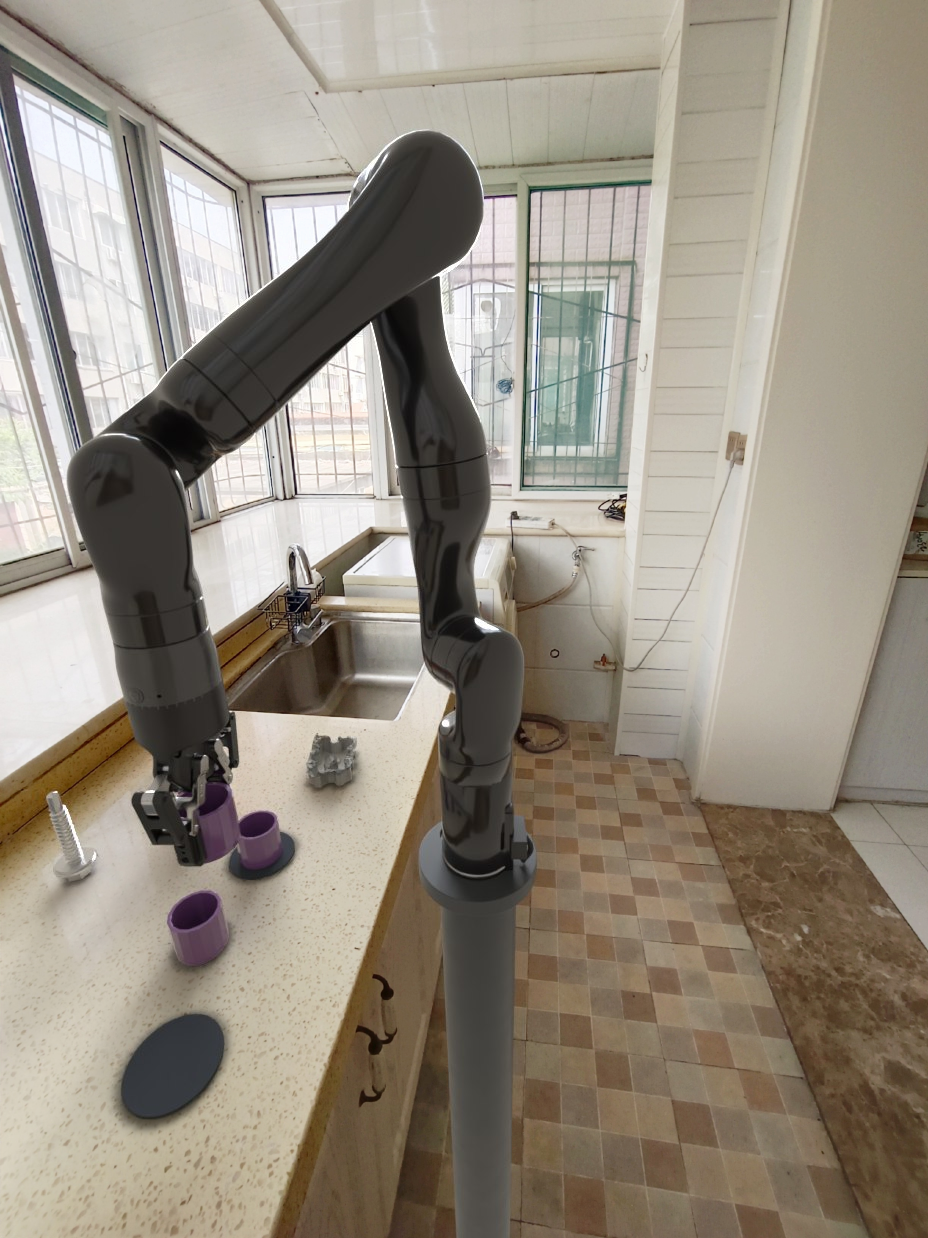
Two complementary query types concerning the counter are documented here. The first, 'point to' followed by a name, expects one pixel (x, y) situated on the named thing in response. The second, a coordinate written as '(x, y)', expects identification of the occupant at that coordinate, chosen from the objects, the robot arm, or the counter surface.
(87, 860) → the screw
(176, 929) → the purple hollow cylinder
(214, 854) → the purple plastic cylinder
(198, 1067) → the coaster left
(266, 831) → the purple plastic cup
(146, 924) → the counter surface
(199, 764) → the robot arm
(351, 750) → the egg carton
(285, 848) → the coaster right
